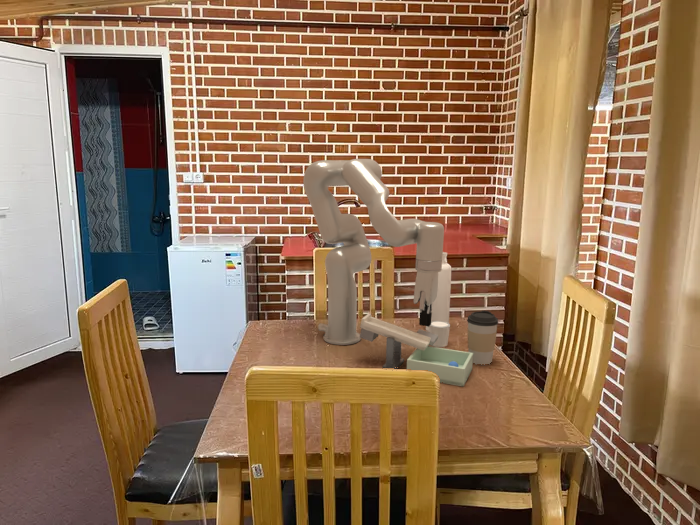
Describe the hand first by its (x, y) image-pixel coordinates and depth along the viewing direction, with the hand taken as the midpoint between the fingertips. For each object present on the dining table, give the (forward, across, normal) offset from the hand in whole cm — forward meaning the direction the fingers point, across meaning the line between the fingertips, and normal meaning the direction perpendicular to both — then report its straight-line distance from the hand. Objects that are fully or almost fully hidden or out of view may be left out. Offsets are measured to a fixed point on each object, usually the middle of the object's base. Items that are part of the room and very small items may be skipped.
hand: (425, 324), depth 154 cm
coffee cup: (+12, -8, +16) cm, 21 cm away
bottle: (+12, -31, -3) cm, 33 cm away
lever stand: (+12, +6, -7) cm, 15 cm away
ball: (+9, +6, +10) cm, 15 cm away
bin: (+11, +6, +7) cm, 15 cm away
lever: (+6, +3, -7) cm, 10 cm away
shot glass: (+12, -17, +1) cm, 21 cm away
